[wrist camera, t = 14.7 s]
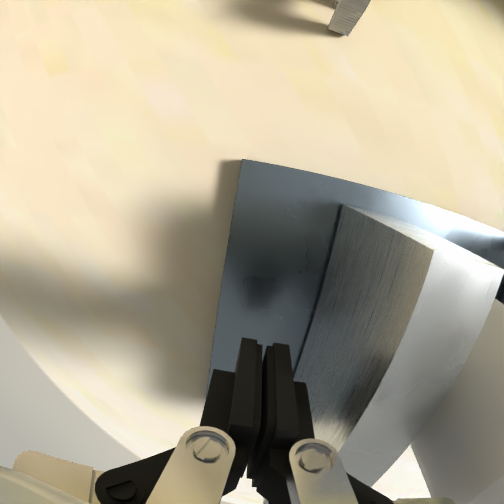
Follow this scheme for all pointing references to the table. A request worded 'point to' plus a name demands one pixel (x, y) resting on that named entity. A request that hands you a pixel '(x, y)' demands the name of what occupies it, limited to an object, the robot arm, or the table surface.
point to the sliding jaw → (389, 335)
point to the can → (469, 425)
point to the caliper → (347, 15)
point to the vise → (306, 252)
